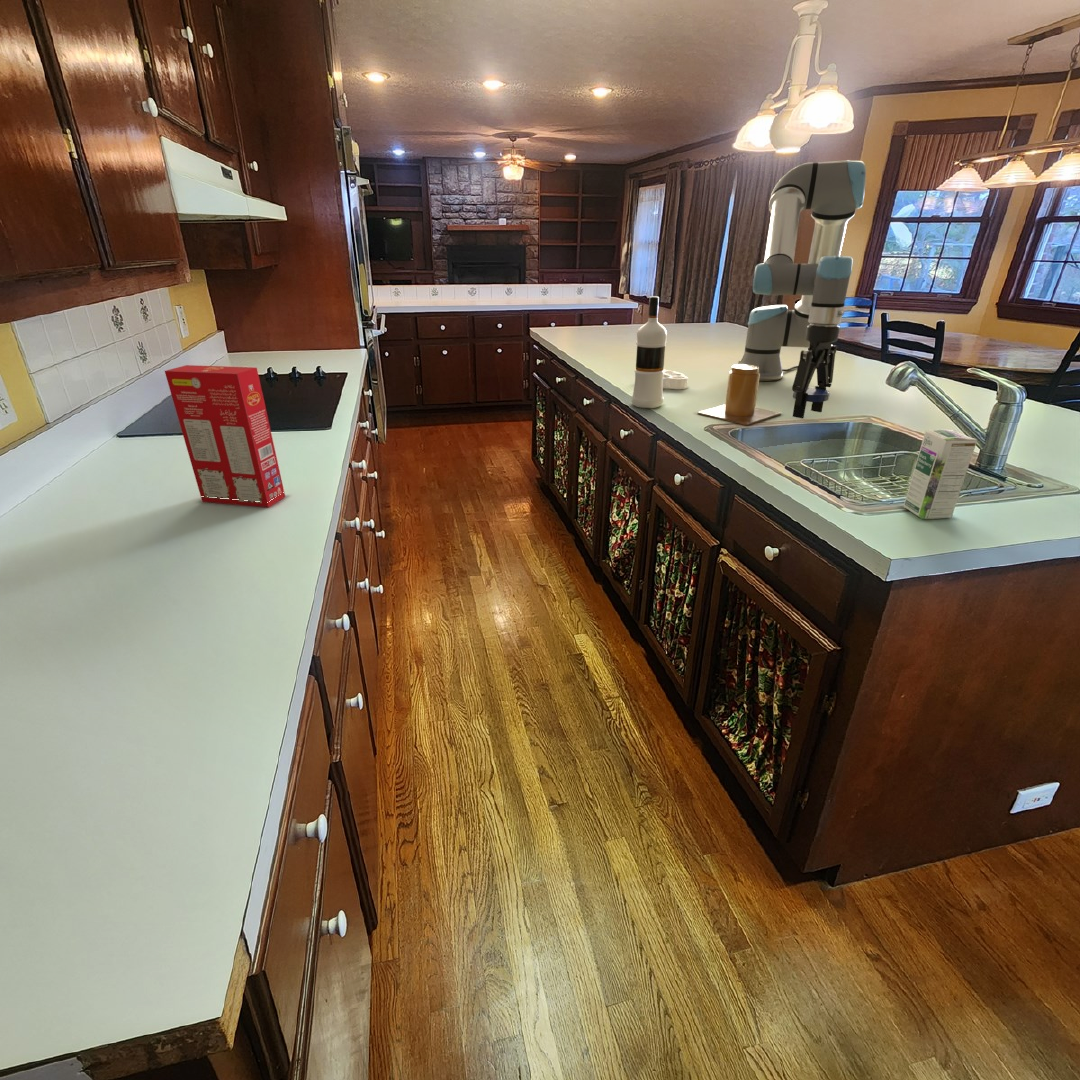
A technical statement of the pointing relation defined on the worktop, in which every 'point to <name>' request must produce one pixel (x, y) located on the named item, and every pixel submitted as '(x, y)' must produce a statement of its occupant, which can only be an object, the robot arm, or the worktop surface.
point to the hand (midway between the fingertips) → (807, 414)
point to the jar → (742, 390)
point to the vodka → (650, 361)
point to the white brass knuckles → (674, 380)
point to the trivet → (744, 420)
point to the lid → (815, 395)
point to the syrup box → (939, 473)
